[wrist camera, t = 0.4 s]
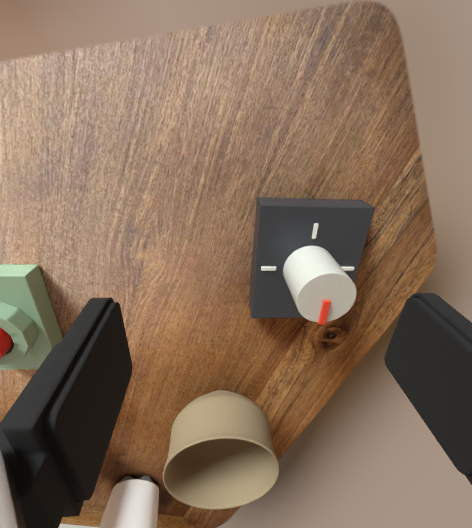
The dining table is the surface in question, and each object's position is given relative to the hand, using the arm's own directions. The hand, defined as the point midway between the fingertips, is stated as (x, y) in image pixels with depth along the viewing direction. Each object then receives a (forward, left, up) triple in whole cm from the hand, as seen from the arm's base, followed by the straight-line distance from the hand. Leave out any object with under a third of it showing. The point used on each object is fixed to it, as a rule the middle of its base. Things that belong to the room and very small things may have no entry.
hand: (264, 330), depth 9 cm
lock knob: (+6, +7, -15) cm, 18 cm away
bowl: (+28, -1, -18) cm, 34 cm away
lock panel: (+6, +7, -18) cm, 20 cm away
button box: (+13, -23, -18) cm, 32 cm away
